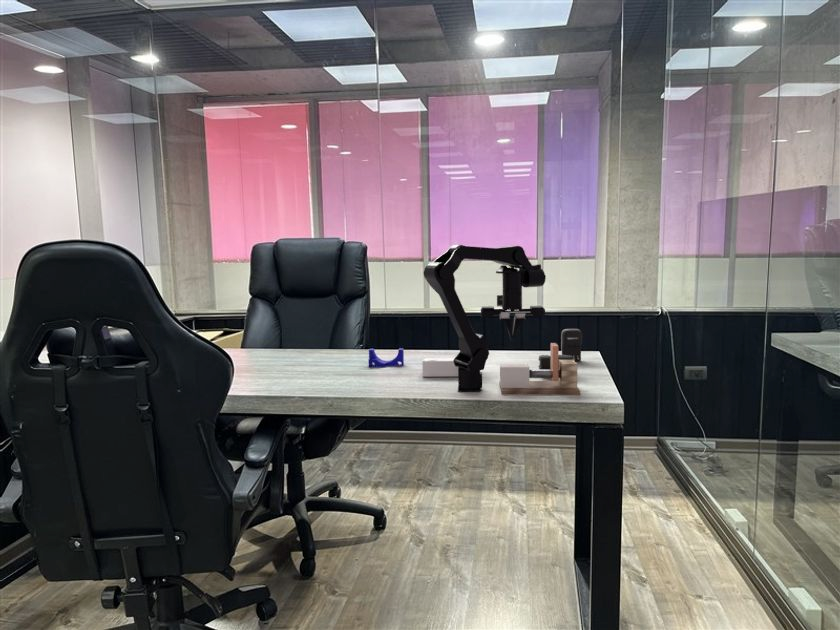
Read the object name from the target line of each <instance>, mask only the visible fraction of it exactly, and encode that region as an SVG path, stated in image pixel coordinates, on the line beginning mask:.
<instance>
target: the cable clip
mask: <svg viewBox="0 0 840 630" xmlns="http://www.w3.org/2000/svg"><path fill="white" fill-rule="evenodd" d="M404 351H405V349H404V348H403V347H402V348H401V347H400V348H398V351H397V355H396V356H395V357H394V358H393V359H390V360H384V359H381V358H379V357H378V356H377V354H376V351H375V348H369V350H368V359H367V360H368V368H386V367H404V365H405V359H404V358H405V357H404V356H405V355H404V353H405V352H404Z"/></svg>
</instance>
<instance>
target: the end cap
mask: <svg viewBox="0 0 840 630" xmlns="http://www.w3.org/2000/svg"><path fill="white" fill-rule="evenodd" d="M559 360H573V357H572V356H571V355H562V354H558V370H559ZM550 361H551V355H549V354H540V355H539V357H538V362H539V364H538V370H550Z"/></svg>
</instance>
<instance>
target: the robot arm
mask: <svg viewBox="0 0 840 630" xmlns="http://www.w3.org/2000/svg"><path fill="white" fill-rule="evenodd" d="M464 260H473V261H474V260H475V261H477V260H478V261H491V262H493V263H496V264H499V265H500V267H499V268H498V269H497V270H496V271H495V274H498V275H499V274H502V294H501V295H498V294H497V295H496V306H497V307H501V308H495V306H490V305H489V306H482V307H481V308H480V318H483V319H484V318H487V319H489V318H491V319H492V318H493V317H494V316H499V320H500V321H503V322H504V324H505V326H506V328H507V332H508V335H509V338H510V341H515V338H516V336H517V332H518V330H519V328H520V326H521V323H522V321H525V320H526V317H525V316H526V315H532V316H533V317H535V318H545V317H546V308H544V306H543V305H530V306H529V307H528V308H527V307H526V308H523V288H538V287H539V288H541V287H543V286H544V285H545V283H546V279H547V278H546V273H545V271H544V270H543V268H542V264H539V263H537V264H536V263H535V264H532V262H531V261H530V259H529V258H528V256H527V255H526V251H525V250H524V248H523V247H522V246H520V245H505V246H498V247H485V246H484V247H482V246H470V245H463V244H454V245H451V246H450V247H449V248H448V249H447V250H446V251H445V252H443V253H442V254H441V255H439V256H437V258H435V259H434V261H433V262H432V261H431V262H429V263H428V264H427V265H426V266H425V268H424V270H423V276H424V278H425V280H426V282H427V283H428V285H429V287H430V288H431V289H433V291H435V292H436V293H437V295H438V296H439V298H440V299H441V302H442V304H443V306H444V308H445V311H446V313H447V315H448V317H449V319H450V321H451V323H452V326H453V328H454V330H455V332H456V334H457V336H458V349H459V352H458V354H457V355H456V356H455V357H454V358H455V359H454V360H453V362H454V364H455V366H456V367H458V376H457V378H458V379H457V381H458V386H457V391H458V392H481V389H483V372H482V371H484V369H485V366H486V363H487V360H488V358H489V355H490V351H489V348H490V346H489V345H488V343H487V341H486V338H485V335H483V334H480V333H476V332H475V331H474V329H473V327H472V323H471V322H470V319H469V318H468V315H467V314H466V311H465V308H464V307H463V304H462V302H461V300H460V298H459V295H458V293H457V291H456V277H455V275H454V274H455V272H456V271H458V269H459V267H460V266H461V264H462V262H463V261H464ZM510 315H512V316H513V315H514V317H513V324H512V320H511V317H510Z"/></svg>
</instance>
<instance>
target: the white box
mask: <svg viewBox="0 0 840 630" xmlns="http://www.w3.org/2000/svg"><path fill="white" fill-rule="evenodd" d="M454 359H455V357H437V358H436V357H430V358H428V357H427V358H426V357H425V358H424V359H423V360H422V362H421V363H422V377H458V367H456V366H455V364H454V362H453V360H454Z"/></svg>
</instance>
